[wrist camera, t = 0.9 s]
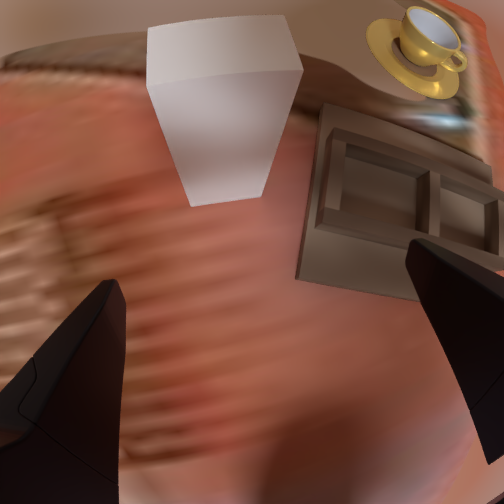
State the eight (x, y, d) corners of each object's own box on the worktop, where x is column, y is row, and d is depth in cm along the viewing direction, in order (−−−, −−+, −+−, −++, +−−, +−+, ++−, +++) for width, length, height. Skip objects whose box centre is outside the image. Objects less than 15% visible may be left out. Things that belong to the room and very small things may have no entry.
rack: (481, 312, 23) (504, 312, 20) (294, 279, 22) (305, 276, 19) (483, 170, 25) (503, 159, 22) (320, 109, 24) (330, 88, 21)
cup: (348, 52, 26) (366, 15, 21) (382, 8, 28) (398, -21, 23) (446, 121, 26) (476, 96, 20) (463, 65, 28) (485, 41, 22)
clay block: (260, 196, 23) (303, 70, 9) (191, 206, 22) (146, 86, 9) (254, 159, 23) (284, 14, 9) (186, 168, 23) (148, 27, 9)
